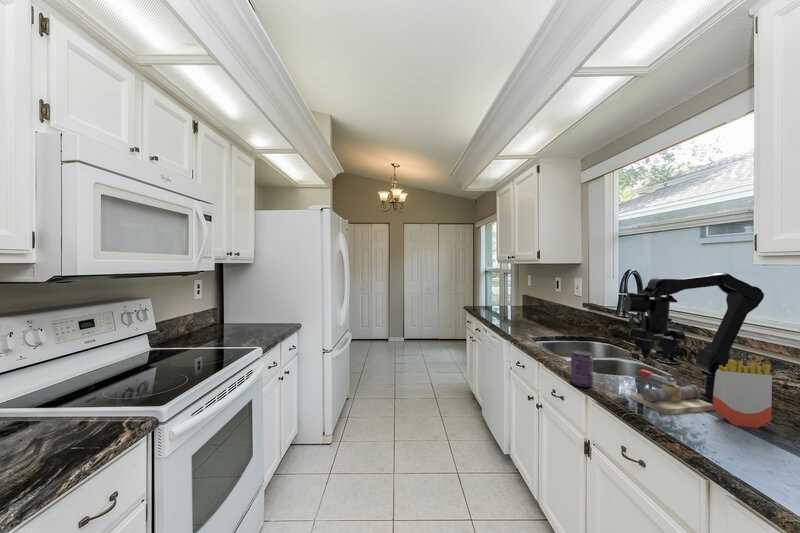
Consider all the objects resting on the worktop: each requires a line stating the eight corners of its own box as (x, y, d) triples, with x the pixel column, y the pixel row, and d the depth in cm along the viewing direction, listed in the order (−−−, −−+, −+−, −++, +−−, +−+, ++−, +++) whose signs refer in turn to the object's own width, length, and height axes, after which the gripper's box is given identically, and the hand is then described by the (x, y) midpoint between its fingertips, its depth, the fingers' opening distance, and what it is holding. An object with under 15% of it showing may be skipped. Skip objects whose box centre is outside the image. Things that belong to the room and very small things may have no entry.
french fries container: (711, 416, 97) (712, 355, 97) (758, 422, 94) (759, 359, 94) (721, 423, 93) (722, 359, 93) (771, 429, 90) (772, 363, 90)
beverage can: (587, 381, 126) (587, 350, 126) (596, 388, 118) (596, 355, 118) (567, 381, 126) (568, 349, 126) (575, 387, 119) (576, 354, 119)
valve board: (674, 394, 113) (675, 377, 113) (714, 410, 102) (714, 390, 102) (630, 398, 110) (630, 380, 110) (666, 414, 98) (666, 394, 98)
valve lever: (677, 386, 105) (677, 379, 105) (671, 386, 105) (671, 379, 105) (643, 374, 116) (643, 368, 116) (638, 374, 116) (638, 368, 116)
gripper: (654, 310, 126) (652, 351, 126) (616, 310, 121) (613, 352, 121) (687, 316, 115) (684, 360, 115) (647, 315, 110) (643, 361, 110)
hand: (655, 358), depth 116 cm, fingers open, 9 cm apart
